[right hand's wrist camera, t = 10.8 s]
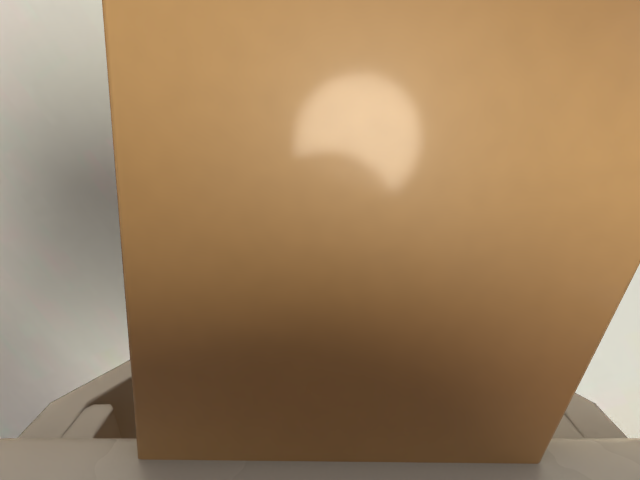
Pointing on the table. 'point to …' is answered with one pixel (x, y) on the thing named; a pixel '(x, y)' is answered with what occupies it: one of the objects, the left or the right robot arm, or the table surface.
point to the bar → (370, 220)
